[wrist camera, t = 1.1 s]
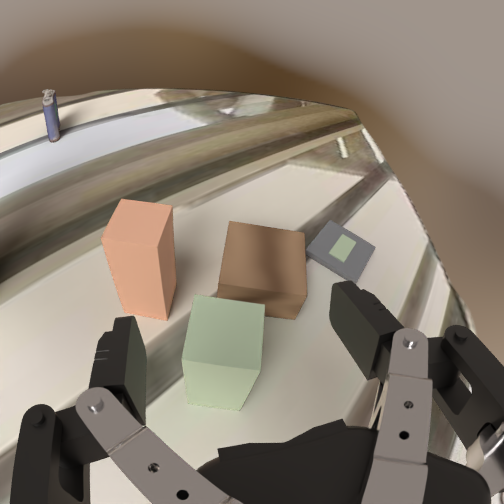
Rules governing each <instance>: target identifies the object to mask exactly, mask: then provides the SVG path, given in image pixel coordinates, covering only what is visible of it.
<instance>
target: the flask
mask: <svg viewBox="0 0 504 504" xmlns="http://www.w3.org/2000/svg"><path fill="white" fill-rule="evenodd" d="M44 91H45V90H44ZM44 91H43V92H44ZM42 104H43V110H44V115H45V120H46V126H47V132H48V137H49V141H50V142H51V143H52V142H55V141H58V140H59V139H60V135H59V134H60V132H59V130H60V129H59V128H60V122H59V116H58V108H57V101H56V92H55V91H54V90H48V89H47V90H46V91H45V96H44V97H43V101H42ZM52 140H53V141H52Z"/></svg>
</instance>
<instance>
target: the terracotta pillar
mask: <svg viewBox="0 0 504 504" xmlns="http://www.w3.org/2000/svg"><path fill="white" fill-rule="evenodd" d="M101 240H102V244H103V247H104V251H105V254H106V258H107V261H108V264H109V268H110V271H111V274H112V277H113V280H114V283H115V286H116V289H117V292H118V295H119V298H120V301H121V304H122V307H123V310H124V312H125V313H130V314H135V315H140V316H145V317H150V318H156V319H161V320H166V321H167V320H168V316H169V311H170V307H171V303H172V299H173V296H174V292H175V288H176V284H177V283H176V269H175V252H174V233H173V206H172V205H164V204H157V203H149V202H141V201H134V200H126V199H121V200H120V202H119V204H118V206H117V208H116V210H115V212H114V213H113V215H112V217H111V219H110V221H109V223H108V225H107V227H106V229H105V231H104V233H103V235H102V237H101Z"/></svg>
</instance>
